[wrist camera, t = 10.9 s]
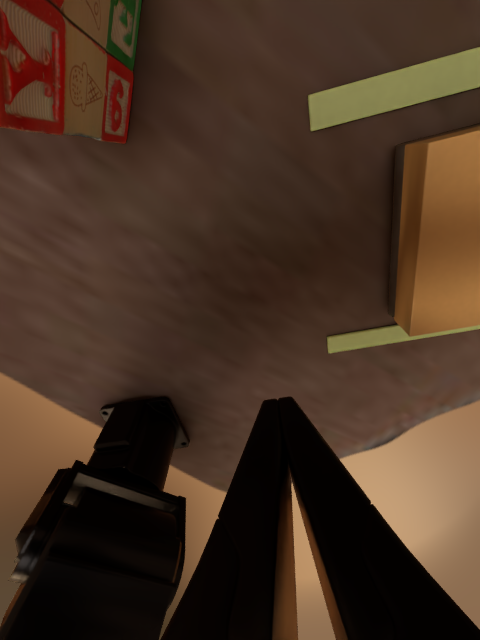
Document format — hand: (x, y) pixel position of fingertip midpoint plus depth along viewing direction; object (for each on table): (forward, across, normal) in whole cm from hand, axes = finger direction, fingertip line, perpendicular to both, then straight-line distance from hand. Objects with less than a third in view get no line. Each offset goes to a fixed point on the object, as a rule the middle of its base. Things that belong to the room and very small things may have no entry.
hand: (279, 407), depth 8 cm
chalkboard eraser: (+12, -10, 0) cm, 16 cm away
